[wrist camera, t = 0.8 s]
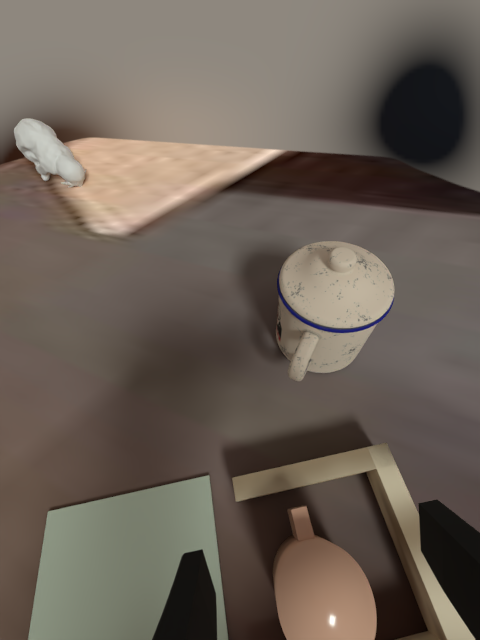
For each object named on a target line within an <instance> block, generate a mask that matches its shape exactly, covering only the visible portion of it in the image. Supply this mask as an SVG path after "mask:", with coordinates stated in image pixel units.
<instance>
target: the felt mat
mask: <svg viewBox="0 0 480 640" xmlns="http://www.w3.org/2000/svg"><path fill="white" fill-rule="evenodd" d="M201 549H203V552H204V556H205V559H206V562H207V566H208V569H209V572H210V575H211V579H212V582H213V585H214V588H215V592H216V605H217V640H229V639H228V631H227V622H226V613H225V605H224V596H223V588H222V579H221V571H220V562H219V553H218V545H217V536H216V528H215V519H214V511H213V502H212V493H211V485H210V476H209V475H208V476H203V477H199V478H194V479H190V480H185V481H181V482H177V483H172V484H168V485H163V486H159V487H154V488H150V489H146V490H141V491H137V492H132V493H128V494H123V495H119V496H115V497H110V498H106V499H101V500H97V501H92V502H88V503H83V504H79V505H75V506H70V507H66V508H61V509H57V510H52V511H48V515H47V521H46V528H45V534H44V541H43V547H42V554H41V560H40V566H39V573H38V579H37V586H36V592H35V599H34V605H33V611H32V618H31V624H30V631H29V637H28V640H152V638H153V636H154V633H155V631H156V628H157V625H158V623H159V620H160V618H161V615H162V613H163V610H164V607H165V604H166V602H167V599H168V596H169V593H170V590H171V587H172V585H173V582H174V579H175V576H176V573H177V570H178V567H179V563H180V560H181V557H182V555H183V554H184V553H187V552H192V551H197V550H201Z"/></svg>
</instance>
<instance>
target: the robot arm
mask: <svg viewBox="0 0 480 640" xmlns="http://www.w3.org/2000/svg"><path fill="white" fill-rule="evenodd" d="M419 522H420V545H421V552H422V554H423V555H424V557H425V559H426V561H427V563H428V565H429V566H430V568H431V570H432V572H433V574H434V575H435V577H436V579H437V581H438V583H439V584H440V586H441V588H442V590H443V591H444V593H445V594H446V596H447V597H448V599H449V601H450V602H451V604H452V605H453V607H454V608H455V610H456V611H457V613H458V614H459V616H460V617H461V619H462V620H463V622H464V623H465V625H466V626H467V628H468V629H469V631H470V632H471V634H472V635H473V637H474V638H475V640H480V533H479V532H478V531H477V530H475V529H474V528H473V527H472V526H470V525H469V524H468V523H466V522H465V521H464V520H463V519H461V518H460V517H459V516H458V515H456V514H455V513H454V512H452V511H451V510H450V509H449V508H447V507H446V506H445V505H444V504H442V503H441V502H440V501H438V500H433V501H428V502H424V503H419ZM152 640H217V605H216V592H215V588H214V585H213V582H212V579H211V575H210V572H209V569H208V566H207V562H206V559H205V556H204V552H203V549H201V550H197V551H192V552H187V553H184V554H183V555H182V557H181V560H180V563H179V567H178V570H177V573H176V576H175V579H174V582H173V585H172V587H171V590H170V593H169V596H168V599H167V602H166V604H165V607H164V610H163V613H162V615H161V618H160V620H159V623H158V625H157V628H156V631H155V633H154V636H153V638H152Z"/></svg>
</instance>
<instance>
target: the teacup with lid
mask: <svg viewBox="0 0 480 640" xmlns="http://www.w3.org/2000/svg"><path fill="white" fill-rule="evenodd" d="M277 288H278V293H279V302H278V314H277V326H276V338H277V342H278V345H279V347H280V349H281V351H282V353H283V354H284V355H285V356H286V358H287V359H288V360H290V361H291V362H290V365H289V369H288V375H289V377H290V378H291V379H293V380H296V381H301V380H302V379H303V377H304V376H305V374H306V372H307V371H311V372H317V373H329V372H334V371H338V370H340V369H342V368H344V367H346V366H347V365H349V364H350V363H351V362H352V361H353V360H354V359H355V357H356V356H357V354H358V353H359V351H360V350H361V348H362V347H363V345H364V343H365V342H366V340H367V339H368V337H369V336H370V334H371V332H372V331H373V329H374V328H375V326H376V325H377V323H378V322H380V321H381V320H382V319H383V318H384V317H385V316H386V315H387V314H388V312H389V311H390V309H391V307H392V304H393V301H394V283H393V279H392V276H391V274H390V272H389V270H388V269H387V267H386V266H385V265H384V264H383V262H382V261H381V260H380V259H379V258H377V257H376V256H375V255H373V254H372V253H371V252H369V251H367V250H365V249H363V248H361V247H358V246H356V245H353V244H349V243H344V242H337V241H324V242H317V243H313V244H309V245H307V246H304V247H302V248H300V249H298V250H297V251H295V252H294V253H293V254H292V255H290V256H289V257H288V259H287V260H286V261H285V262H284V264H283V266H282V267H281V269H280V271H279V274H278V279H277Z"/></svg>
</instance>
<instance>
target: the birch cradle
mask: <svg viewBox="0 0 480 640" xmlns="http://www.w3.org/2000/svg"><path fill="white" fill-rule="evenodd" d="M364 472H366V473H367V476H368V479H369V481H370V484H371V486H372V489H373V491H374V494H375V496H376V499H377V502H378V504H379V507H380V509H381V512H382V514H383V517H384V519H385V522H386V524H387V527H388V530H389V532H390V535H391V537H392V540H393V542H394V545H395V547H396V550H397V552H398V555H399V558H400V560H401V563H402V565H403V568H404V570H405V573H406V575H407V578H408V581H409V583H410V586H411V588H412V591H413V593H414V596H415V598H416V601H417V603H418V606H419V609H420V611H421V614H422V616H423V619H424V621H425V624H426V626H427V629H428V631H425V632H422V633H418V634H414V635H410V636H407V637H403V638H399V639H395V640H475V638H474V637H473V635H472V634H471V632H470V631H469V629H468V628H467V626H466V625H465V623H464V622H463V620H462V619H461V617H460V616H459V614H458V613H457V611H456V610H455V608H454V607H453V605H452V604H451V602H450V601H449V599H448V597H447V596H446V594H445V593H444V591H443V590H442V588H441V586H440V584H439V583H438V581H437V579H436V577H435V575H434V574H433V572H432V570H431V568H430V566H429V565H428V563H427V561H426V559H425V557H424V555H423V554H422V552H421V545H420V522H419V514H418V512H417V510H416V507H415V505H414V503H413V501H412V498H411V496H410V494H409V492H408V490H407V487H406V485H405V483H404V481H403V479H402V476H401V474H400V472H399V470H398V467H397V465H396V463H395V461H394V459H393V456H392V454H391V452H390V450H389V448H388V445H387V443H383V444H379V445H374V446H370V447H365V448H361V449H357V450H352V451H348V452H343V453H339V454H335V455H330V456H326V457H321V458H317V459H313V460H308V461H304V462H299V463H295V464H291V465H286V466H282V467H277V468H273V469H269V470H264V471H260V472H255V473H251V474H246V475H242V476H238V477H233V478H232V480H233V487H234V493H235V499H236V501H237V502H239V501H244V500H248V499H252V498H256V497H261V496H265V495H269V494H274V493H278V492H282V491H287V490H291V489H295V488H300V487H304V486H308V485H313V484H317V483H321V482H326V481H330V480H334V479H338V478H343V477H347V476H351V475H356V474H360V473H364Z"/></svg>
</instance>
